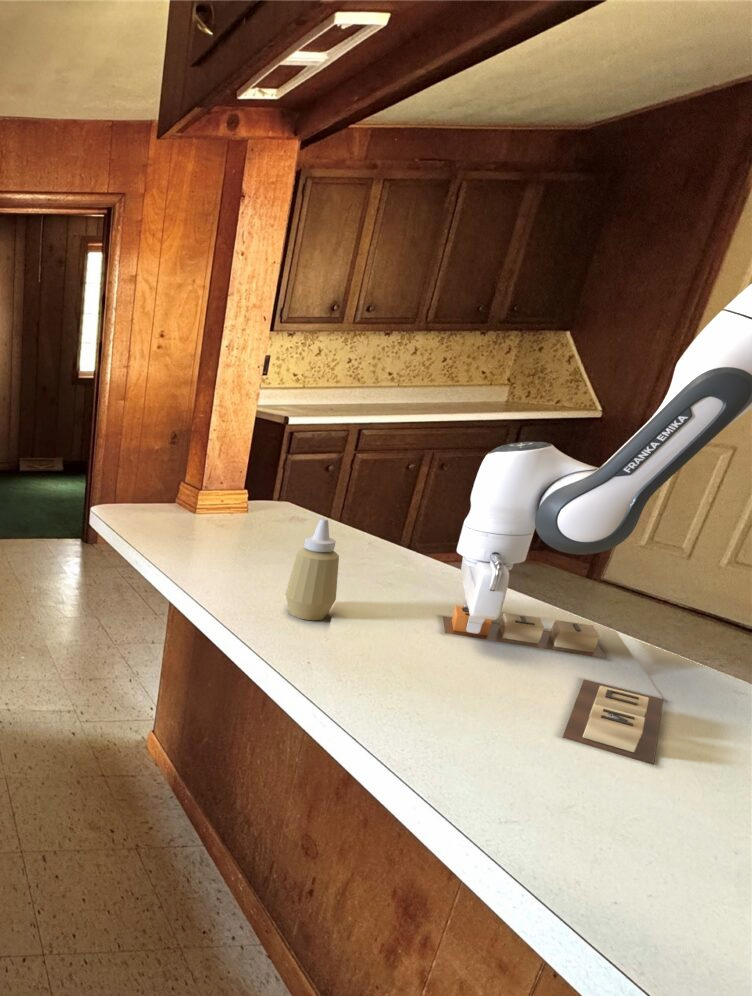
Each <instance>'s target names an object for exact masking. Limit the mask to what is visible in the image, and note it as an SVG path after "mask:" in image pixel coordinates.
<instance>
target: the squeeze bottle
mask: <svg viewBox="0 0 752 996" xmlns="http://www.w3.org/2000/svg"><path fill="white" fill-rule="evenodd" d="M336 542H337V541H336V540H335V539H334V538H332V537H330V527H329V518H324V517H323V518H320V519H319V522H318V524H317V526H316V529H315V531H314V533H313V535H310V536H307V537H305V540H304V544H303V548H301V549H298V551H297V553H296V555H295V560H294V563H293V566H292V570H291V573H290V576H289V581H288V584H287V587H286V590H285V598H286V603H287V608H288V612H289V614H290V616H291V615H292V616H293V617H295V618H298V619H300V620H305V621H320V620H324V619H325V618H326V616H328V614H329V612H330V610H331V608H332V607H333V605H334V604H335V602H336V600H337V590H338V589H337V588H338V575H339V564H340V563H339V562H340V561H339V560H340V555H339V554H338V553H337V552H336V551H335V547H336Z"/></svg>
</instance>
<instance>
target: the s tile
mask: <svg viewBox="0 0 752 996" xmlns="http://www.w3.org/2000/svg"><path fill="white" fill-rule="evenodd" d="M469 615H470V613H469V609H468V607H464V606H460V605H455V606H454V610H453V614H452V626H453V630H454V631H461V632H467V630H466V624H467V620H468V619H469ZM491 623H492V624H493V620H491V619H485V621H484V622H483V624H482V627H481V630H480V632H479V633H473V634H480V635H486V636H488V633H489V630H490V626H491ZM467 633H470V632H467Z"/></svg>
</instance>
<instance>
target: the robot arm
mask: <svg viewBox="0 0 752 996" xmlns="http://www.w3.org/2000/svg"><path fill="white" fill-rule="evenodd" d="M722 309H723V310H720V311H719V313H717V314H716V315H715V316H714V317H713V318H712V319H711V320H710V321H709V322H708V323H707V324H706V326H705V327H704V328H703V329H702V330H701V331H700V332H699V333H698V334H697V336H696V337H695V338H694V339H693V340H692V342H691V343H690V344H689V345H688V347H687V348H686V349H685V351H684V352H683V354H682V355H681V356H680V358H679V360H678V361H677V363H676V365H675V367H674V371H673V374H672V379H671V382H670V386H669V388H668V391H667V393H666V394H665V397H664V399H663V401H662V403H661V404H660V406H658V409H657V410H656V411H655V412H654V413H653V415H652V417H650V418H649V420H647V422H646V423H645V424H644V425H642V427H640V428H639V429H638V430H637V431H636V432H635V433H634V435H632V436H631V437H630V438H628V440H627V441H626V442H625V443H624V444H623V445H622V446H621V447H619V449H618V450H617V451H616V452H615V453H613V455H611V457H610V458H608V460H607V461H606V462H604V463H603V464H602V465H601V466H600V467H596V466H595V465H594V466H593V465H589V464H587V463H584V462H582V461H579V460H577V459H575V458H573V457H571V456H568V455H567V454H565V453H563V452H562V451H561V450H559V449H558V448H556V447H555V446H554V445H553V444H552V443H551V442H550V443H549V442H545V441H521V442H513V443H507V444H502V445H500V446H498V447H495V448H494V449H492V450H491V451H489V452H488V453H487V454H486V455H485V457H484V459H483V460H482V461H481V464H480V466H479V469H478V471H477V474H476V477H475V480H474V482H473V487H472V489H471V494H470V509H469V512H468V514H467V516H466V517H465V519H464V521H463V524H462V528H461V531H460V534H459V539H458V542H457V546H456V553H457V554H459V555H460V556H462V561H461V567H460V568H461V569H460V580H461V583H462V588H463V592H464V605H463V607H468V609H469V613H470V615H469V619H468V620H467V624H466V630H467V632H470V633H479V632H480V630H481V627H482V624H483V622H484V621H485V619H491V620H492V621H495V620H498V619H499V617H500V616H501V614H502V609H503V607H504V603H505V599H506V595H507V591H508V588H509V587H508V586H509V581H510V572H509V571H511V570H513V567H514V565H515V564H521V563H523V562H525V561H526V560H527V556H528V553H529V550H530V547H531V544H532V539H533V536H534V533H535V531H536V533H537V535H538V537H539V538H540V539H541V541H543V542H544V543H545V544H546V545H547V546H549V547H550V548H553V549H555V550H556V551H559V552H562V553H566V554H571V555H593V554H599V553H603V552H606V551H609V550H611V549H613V548H615V547H617V546H619V545H620V544H622V543H623V542H625V540H626V539H628V538H629V537H630V536H631V535H632V533H633V532H634V531H635V529H636V527H637V524H638V523H639V520H640V518H641V515H642V513H643V511H644V508H645V506H646V505H647V503H648V501H650V499H651V497H652V496H653V495H654V494H655V492H657V491H658V490H659V489H660V488H661V487H662V486H663V485H664V484H665V483H666V482H668V481H669V480H670V479H671V478H672V477H673V476H674V475H675V474H676V473H677V472H679V470H680V469H682V468H683V467H684V466H685V465H686V464H687V463H688V462H689V461H691V459H692V458H694V457H695V456H696V455H697V454H698V453H699V452H700V451H701V450H702V449H703V448H704V447H706V446H707V445H708V444H709V443H710V442H711V441H712V440H713V439H714V438H715V437H717V436H718V435H719V434H720V433H721V432H722V431H724V430H725V429H726V428H727V427H728V426H730V425H731V424H732V423H735V421H737V420H738V419H739V418H741V417H742V416H744V415H745V414H746V413H748V412H749V411H751V410H752V282H751V283H750V284H749V285H748V286H746V287H745V288H744V289H743V290H742V291H741V292H740V293H739V294H738V295H736V296H735V297H734V298H733V299H732V300H731V301H730V302H729V303H728V304H727V305H726V306H725V307H723V308H722Z"/></svg>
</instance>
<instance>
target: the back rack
mask: <svg viewBox="0 0 752 996" xmlns="http://www.w3.org/2000/svg"><path fill="white" fill-rule="evenodd" d="M452 617H453V616H452ZM452 617H451V616H445V615H442V622H443V628H444V629H443V630H444V634H447V635H448V634H449V635H453V636H459V637H467V638H473V639H478V640H479V639H480V640H485V641H486V640H487V641H492V642H498V643H504V644H511V645H516V646H523V647H529V648H535V649H541V650H548V651H554V652H561V653H566V654H571V655H572V654H573V655H577V656H578V655H580V656H585V657H591V658H599V659H603V660H604V659H605V660H607V657H606V655H605V653H604V652H603V650H602V649H601V647H600V645H599V644H598V643H599V642H598V641H599V640H600V634H599V632H598V631H597V629H596V628H595V627H594V625H593V624H588V623H580V622H573V621H566V620H565V621H564V620H558V619H554V622H553V624H552V627H551V631H544V630H545V627H544V624H543V623H542V620H541V618H540V617H536V616H529V615H523V614H517V613H510V612H503V614H502V617H501V620H500V623H499V624H498V623H493V622H492V623H491V626H490V630H489V633H488V636H486V635H480V634H473V633H467V632H461V631H454V630H453V626H452Z"/></svg>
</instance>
